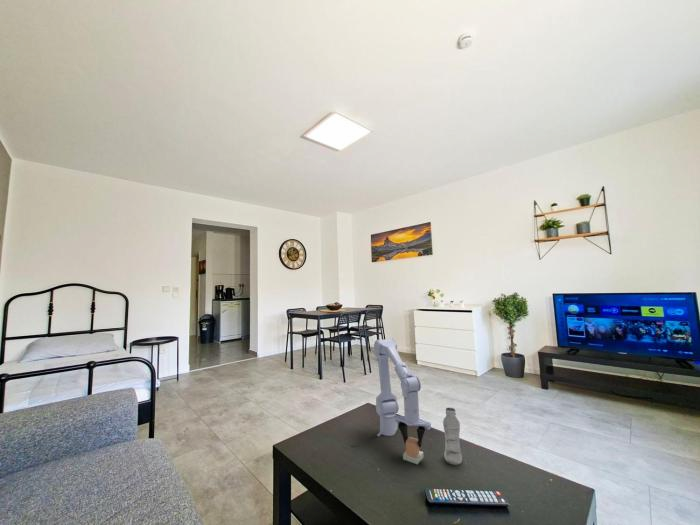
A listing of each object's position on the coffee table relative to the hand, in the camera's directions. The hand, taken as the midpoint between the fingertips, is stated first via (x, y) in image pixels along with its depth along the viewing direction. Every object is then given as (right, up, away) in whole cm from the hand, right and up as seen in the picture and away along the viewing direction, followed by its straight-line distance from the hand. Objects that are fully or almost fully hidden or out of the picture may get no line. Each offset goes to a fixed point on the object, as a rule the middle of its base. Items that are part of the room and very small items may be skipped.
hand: (412, 444), depth 110 cm
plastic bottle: (+15, -6, -3) cm, 17 cm away
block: (0, -3, -1) cm, 3 cm away
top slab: (0, -5, -1) cm, 5 cm away
